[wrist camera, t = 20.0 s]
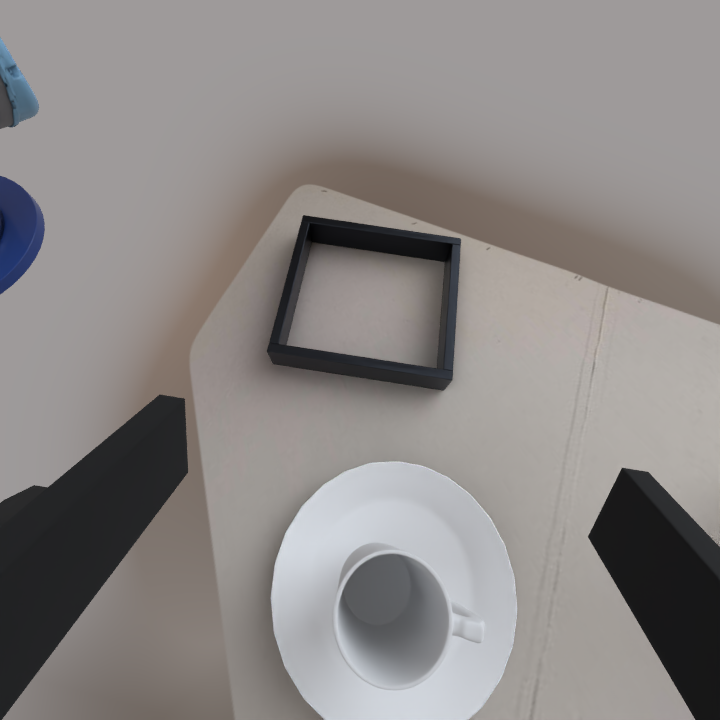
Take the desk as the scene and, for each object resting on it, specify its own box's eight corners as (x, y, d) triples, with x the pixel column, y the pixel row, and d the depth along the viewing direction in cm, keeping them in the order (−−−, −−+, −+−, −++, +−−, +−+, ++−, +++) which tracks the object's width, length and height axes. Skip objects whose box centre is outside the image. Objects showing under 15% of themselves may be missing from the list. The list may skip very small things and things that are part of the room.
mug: (327, 618, 32) (318, 672, 21) (346, 530, 34) (348, 537, 23) (447, 649, 31) (505, 723, 20) (458, 559, 34) (515, 579, 23)
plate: (237, 681, 32) (229, 692, 30) (321, 437, 39) (319, 433, 37) (485, 773, 30) (495, 792, 28) (521, 500, 38) (531, 499, 36)
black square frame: (272, 364, 42) (266, 351, 39) (305, 234, 49) (303, 214, 46) (444, 390, 42) (452, 380, 39) (453, 256, 49) (461, 238, 46)
